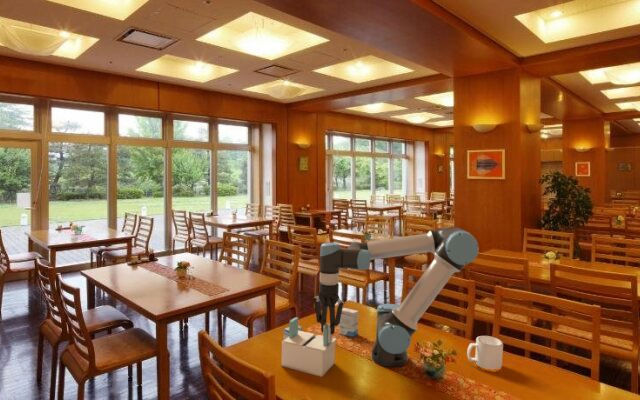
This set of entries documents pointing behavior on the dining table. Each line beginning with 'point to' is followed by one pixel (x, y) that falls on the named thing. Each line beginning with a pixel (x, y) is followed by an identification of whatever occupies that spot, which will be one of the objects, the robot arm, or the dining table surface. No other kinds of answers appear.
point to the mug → (487, 352)
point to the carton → (307, 358)
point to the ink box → (348, 322)
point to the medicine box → (286, 332)
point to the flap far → (297, 334)
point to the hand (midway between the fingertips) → (327, 341)
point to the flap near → (321, 341)
